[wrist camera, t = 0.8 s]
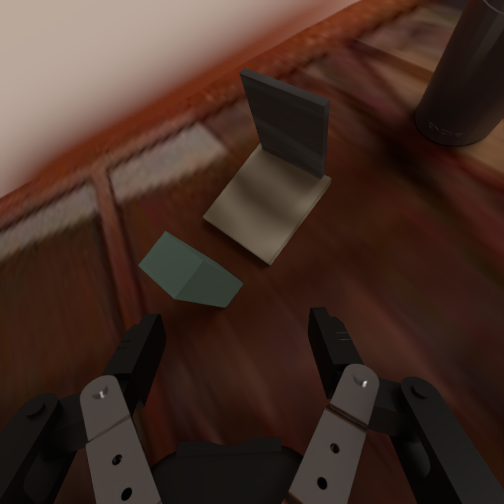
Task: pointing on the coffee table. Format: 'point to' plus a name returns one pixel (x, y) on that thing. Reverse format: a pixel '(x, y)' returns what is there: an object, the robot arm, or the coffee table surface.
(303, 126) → the desktop book rack
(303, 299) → the coffee table surface
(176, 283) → the tall sage green prism
